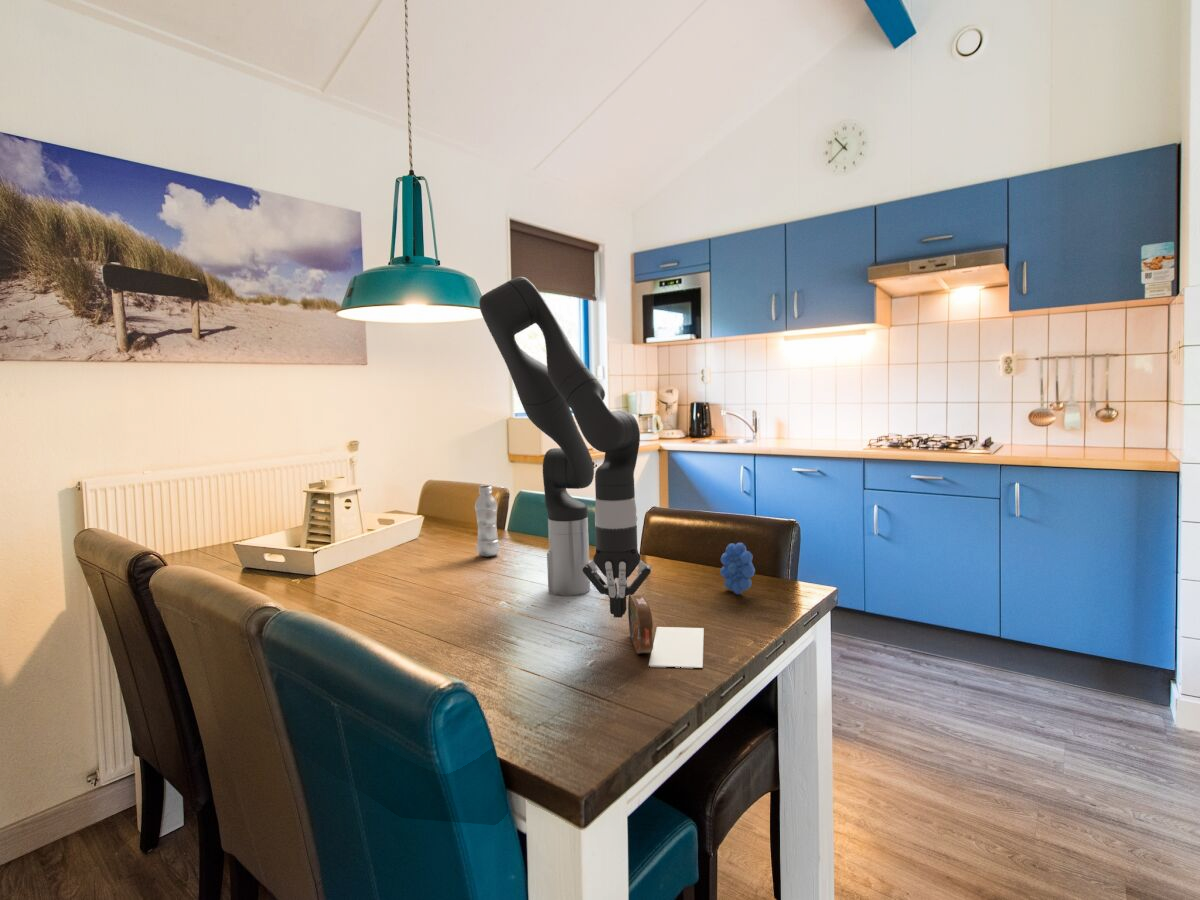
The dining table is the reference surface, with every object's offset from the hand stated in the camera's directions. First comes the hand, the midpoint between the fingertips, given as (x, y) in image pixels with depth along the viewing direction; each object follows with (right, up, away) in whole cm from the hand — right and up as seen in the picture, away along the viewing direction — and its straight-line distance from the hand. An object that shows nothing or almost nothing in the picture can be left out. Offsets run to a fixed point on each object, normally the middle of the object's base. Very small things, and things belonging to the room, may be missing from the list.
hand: (618, 616), depth 123 cm
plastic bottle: (-35, 0, +69) cm, 78 cm away
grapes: (+28, -2, +28) cm, 40 cm away
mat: (+11, -5, -1) cm, 12 cm away
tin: (+4, -6, 0) cm, 7 cm away
